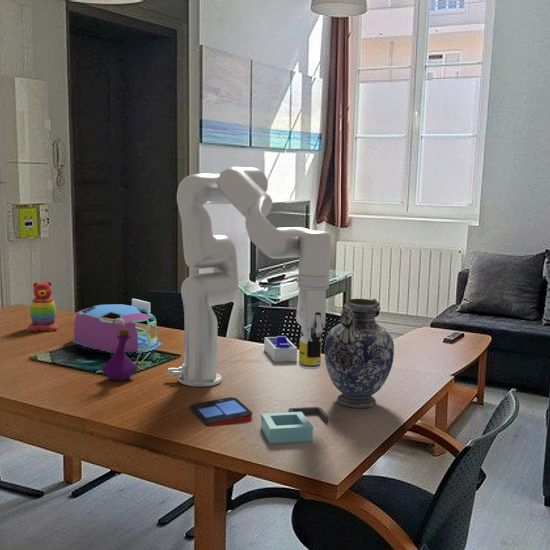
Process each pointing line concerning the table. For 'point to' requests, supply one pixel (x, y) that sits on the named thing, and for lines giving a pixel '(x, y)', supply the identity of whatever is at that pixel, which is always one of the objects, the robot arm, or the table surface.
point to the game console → (221, 411)
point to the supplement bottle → (303, 359)
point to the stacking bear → (42, 308)
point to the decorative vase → (359, 354)
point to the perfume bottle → (120, 358)
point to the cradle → (311, 411)
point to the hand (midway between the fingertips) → (310, 352)
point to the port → (286, 427)
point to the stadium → (115, 327)
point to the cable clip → (281, 342)
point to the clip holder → (280, 350)
